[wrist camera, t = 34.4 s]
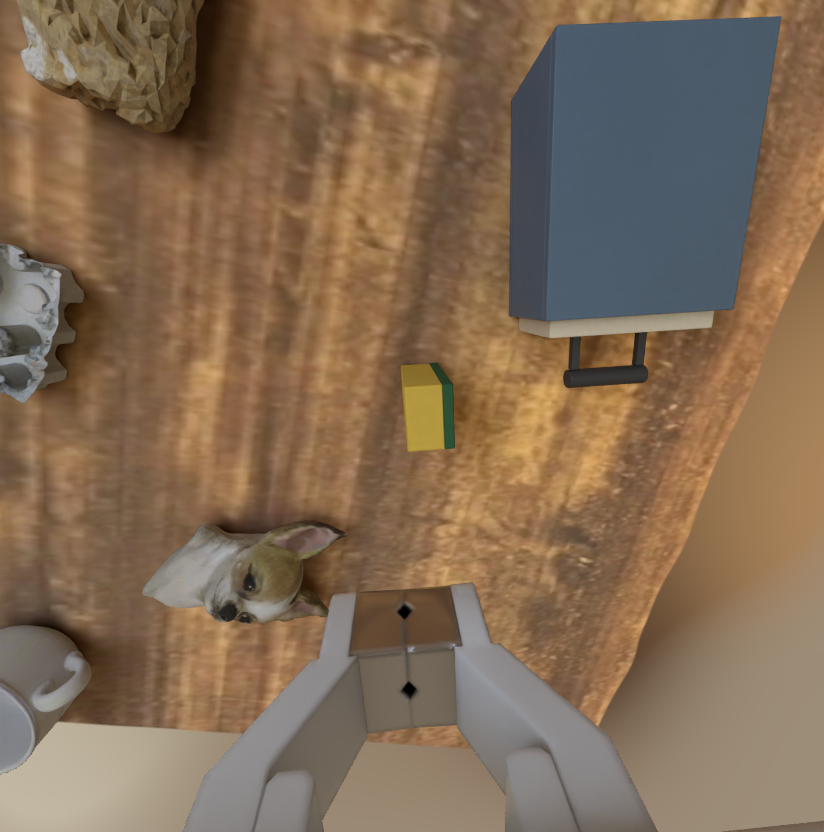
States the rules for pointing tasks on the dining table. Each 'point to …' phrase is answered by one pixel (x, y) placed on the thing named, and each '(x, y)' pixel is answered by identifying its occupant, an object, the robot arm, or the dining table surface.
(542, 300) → the cabinet
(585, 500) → the dining table surface
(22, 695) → the teacup
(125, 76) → the sponge
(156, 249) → the dining table surface
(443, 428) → the scrub sponge
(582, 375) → the drawer
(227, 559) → the ceramic sculpture
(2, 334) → the egg carton
